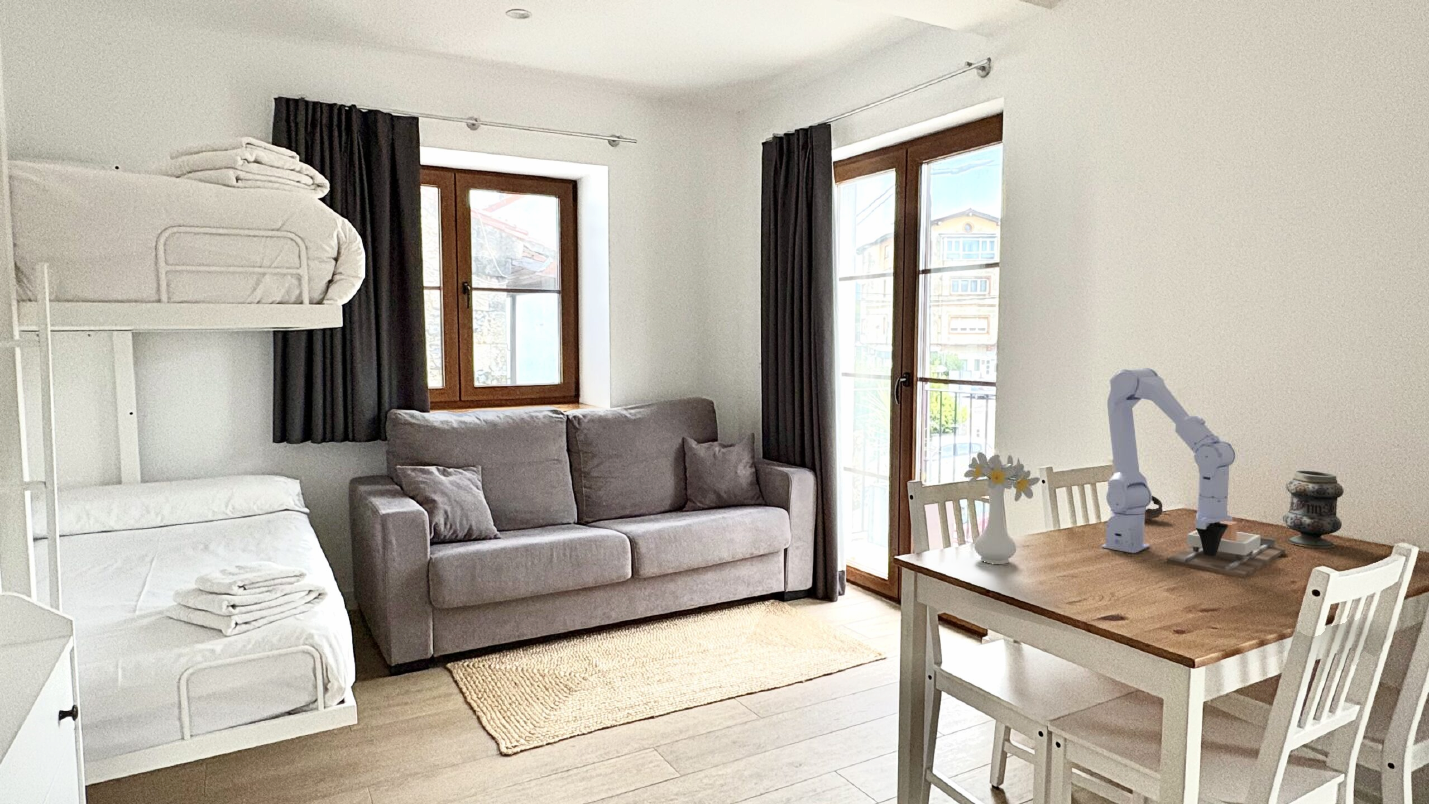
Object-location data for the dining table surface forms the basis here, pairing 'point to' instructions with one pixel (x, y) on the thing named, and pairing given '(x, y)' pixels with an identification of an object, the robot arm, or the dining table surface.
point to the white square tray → (1229, 543)
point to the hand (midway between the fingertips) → (1209, 555)
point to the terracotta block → (1230, 531)
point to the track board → (1229, 559)
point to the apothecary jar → (1313, 507)
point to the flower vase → (999, 503)
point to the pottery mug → (1154, 510)
